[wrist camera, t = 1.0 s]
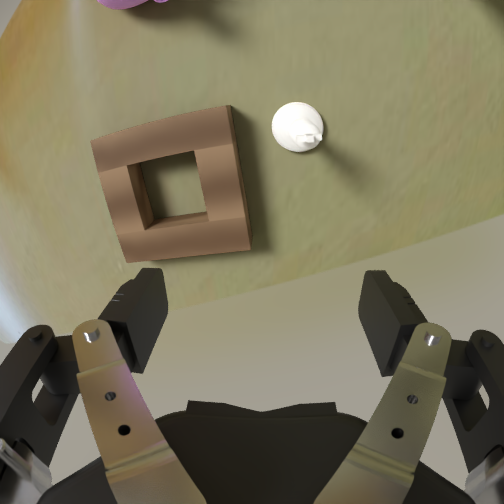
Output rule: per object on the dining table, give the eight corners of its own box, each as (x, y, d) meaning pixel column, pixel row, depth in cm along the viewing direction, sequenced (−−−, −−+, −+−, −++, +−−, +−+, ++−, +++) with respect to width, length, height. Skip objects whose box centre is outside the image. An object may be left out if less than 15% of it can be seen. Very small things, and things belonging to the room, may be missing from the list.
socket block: (104, 136, 28) (90, 140, 25) (230, 105, 26) (225, 105, 24) (136, 250, 34) (126, 263, 32) (252, 236, 33) (250, 249, 30)
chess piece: (325, 149, 28) (349, 173, 19) (275, 153, 28) (276, 178, 20) (320, 100, 26) (344, 100, 17) (268, 104, 26) (267, 105, 17)
